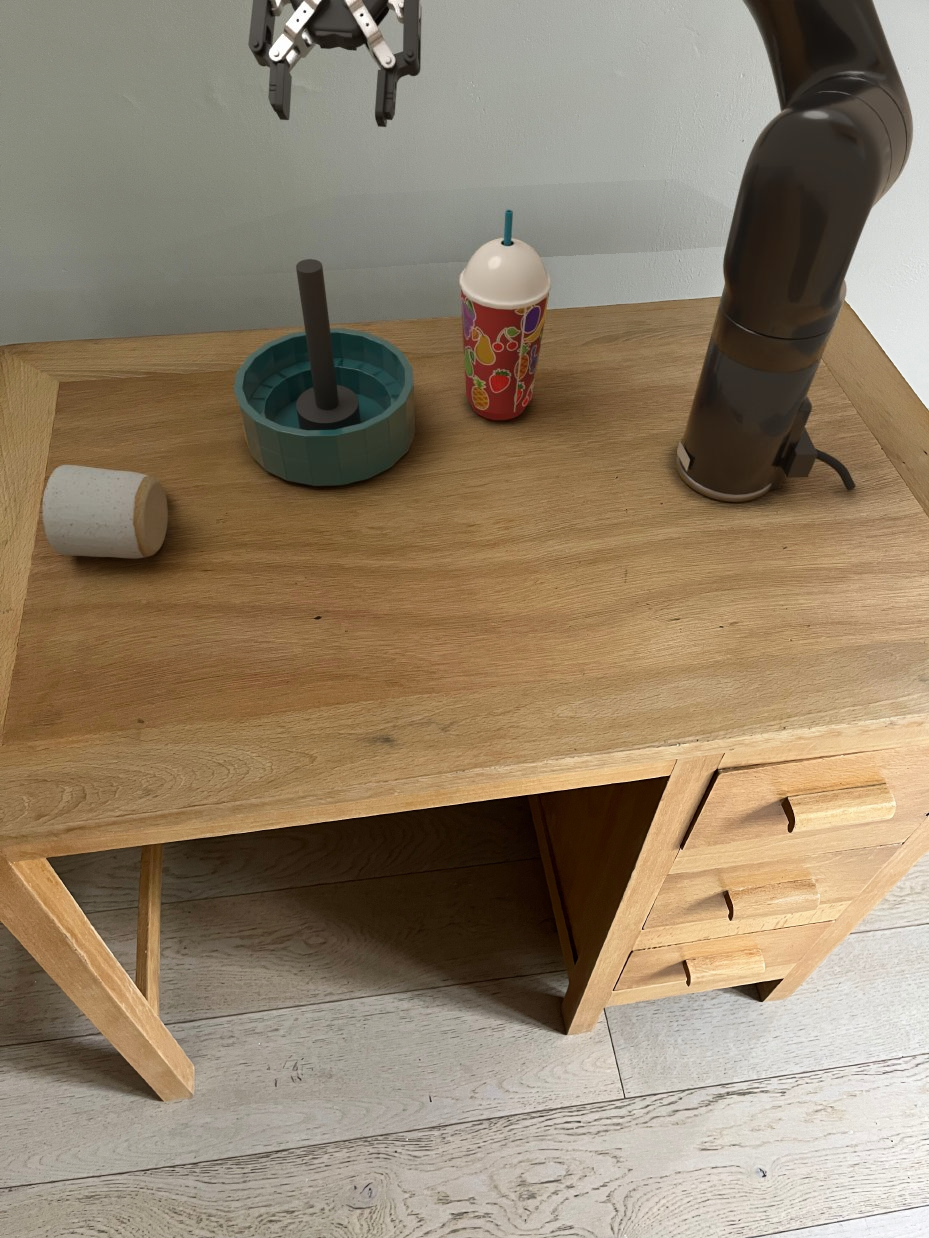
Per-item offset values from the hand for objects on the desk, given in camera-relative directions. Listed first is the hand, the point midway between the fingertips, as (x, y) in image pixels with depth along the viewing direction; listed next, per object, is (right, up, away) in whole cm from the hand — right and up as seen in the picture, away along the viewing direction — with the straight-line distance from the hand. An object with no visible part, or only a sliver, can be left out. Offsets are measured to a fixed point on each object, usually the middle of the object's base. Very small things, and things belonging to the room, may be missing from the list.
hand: (331, 119), depth 73 cm
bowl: (-2, -24, +12) cm, 27 cm away
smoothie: (+15, -21, +16) cm, 30 cm away
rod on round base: (-2, -24, +12) cm, 27 cm away
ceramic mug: (-19, -35, +3) cm, 40 cm away
